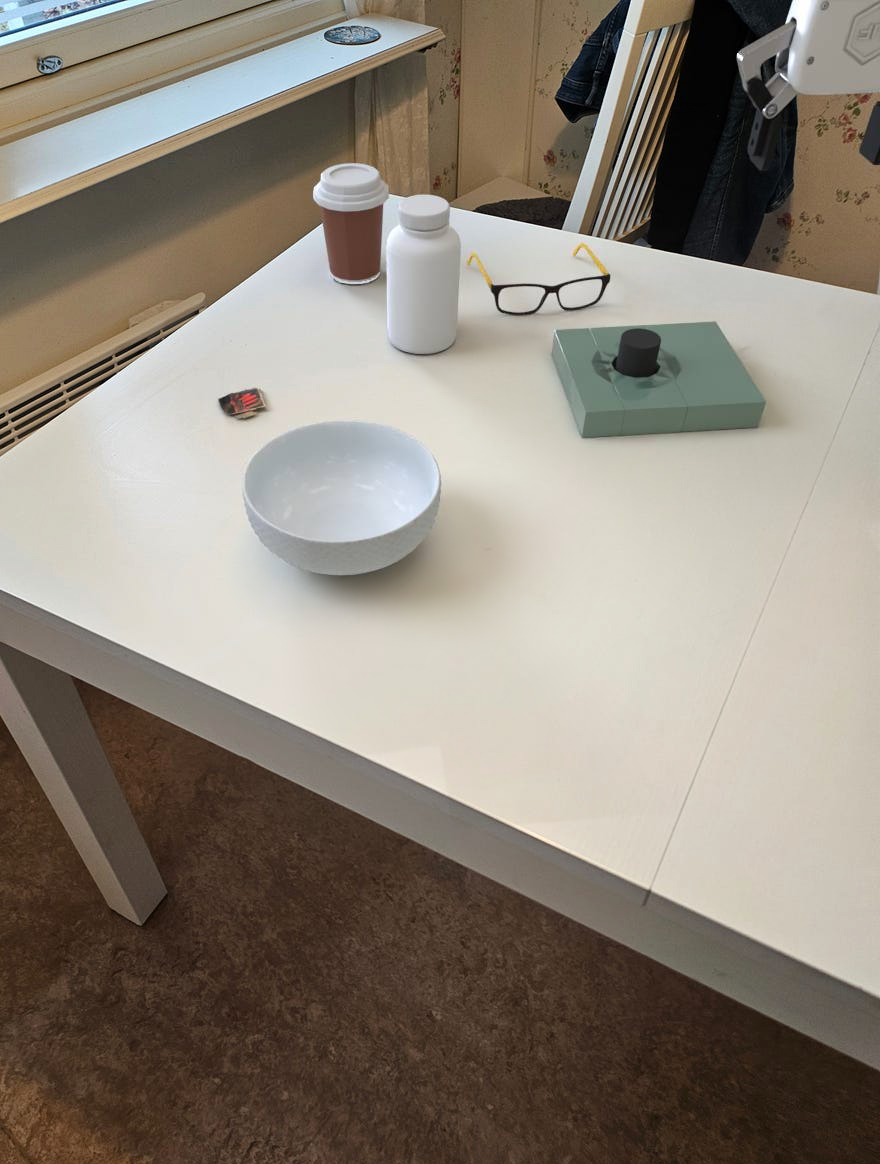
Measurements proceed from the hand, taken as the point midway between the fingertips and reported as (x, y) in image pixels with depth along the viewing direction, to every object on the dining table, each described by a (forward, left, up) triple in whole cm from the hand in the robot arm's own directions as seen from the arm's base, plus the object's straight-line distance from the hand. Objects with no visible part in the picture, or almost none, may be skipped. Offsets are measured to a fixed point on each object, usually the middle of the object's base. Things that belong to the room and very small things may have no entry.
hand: (814, 162), depth 77 cm
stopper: (+11, -3, -23) cm, 26 cm away
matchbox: (+52, -4, -23) cm, 57 cm away
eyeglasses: (+17, -27, -24) cm, 40 cm away
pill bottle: (+32, -16, -24) cm, 43 cm away
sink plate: (+9, -3, -23) cm, 25 cm away
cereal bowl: (+42, +18, -24) cm, 51 cm away
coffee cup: (+39, -33, -24) cm, 56 cm away
